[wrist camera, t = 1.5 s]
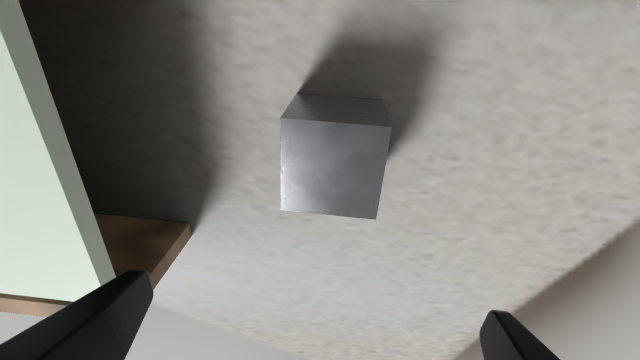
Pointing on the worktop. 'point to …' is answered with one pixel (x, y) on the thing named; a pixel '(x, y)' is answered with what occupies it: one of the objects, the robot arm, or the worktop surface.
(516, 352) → the robot arm
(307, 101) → the block
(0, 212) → the trapdoor
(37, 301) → the frame
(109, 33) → the worktop surface
